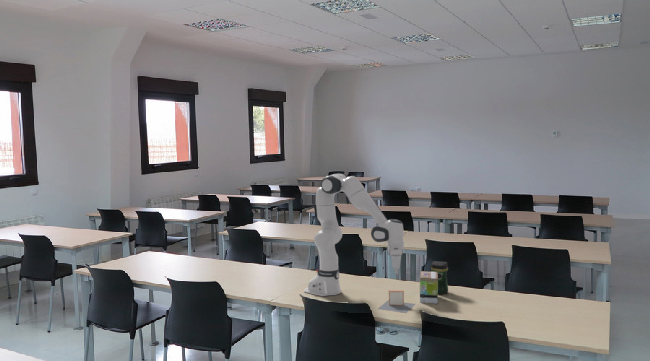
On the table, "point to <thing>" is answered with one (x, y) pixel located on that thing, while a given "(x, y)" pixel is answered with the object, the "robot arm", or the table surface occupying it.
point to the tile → (396, 297)
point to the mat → (397, 307)
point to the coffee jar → (441, 275)
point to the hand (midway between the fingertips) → (396, 273)
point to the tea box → (428, 287)
